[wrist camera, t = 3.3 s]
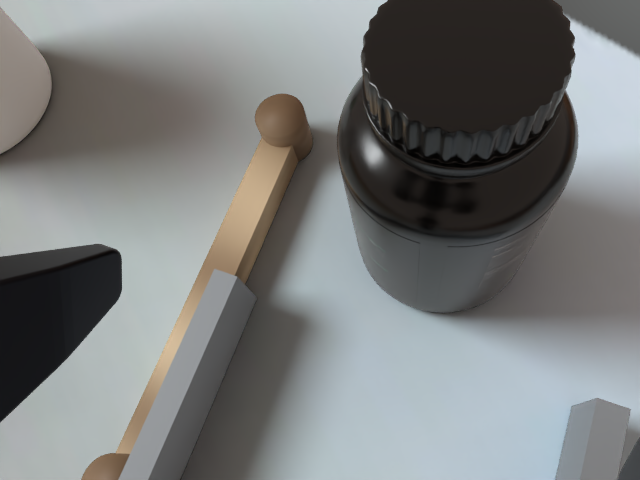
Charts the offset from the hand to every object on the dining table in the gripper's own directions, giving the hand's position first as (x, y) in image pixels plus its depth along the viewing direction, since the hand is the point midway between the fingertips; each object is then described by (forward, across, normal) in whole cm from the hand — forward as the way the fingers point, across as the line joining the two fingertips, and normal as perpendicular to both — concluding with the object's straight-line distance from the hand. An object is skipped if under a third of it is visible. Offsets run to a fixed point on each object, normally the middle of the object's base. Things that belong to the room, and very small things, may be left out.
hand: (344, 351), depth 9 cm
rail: (+11, +8, +8) cm, 16 cm away
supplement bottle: (+15, 0, +4) cm, 15 cm away
